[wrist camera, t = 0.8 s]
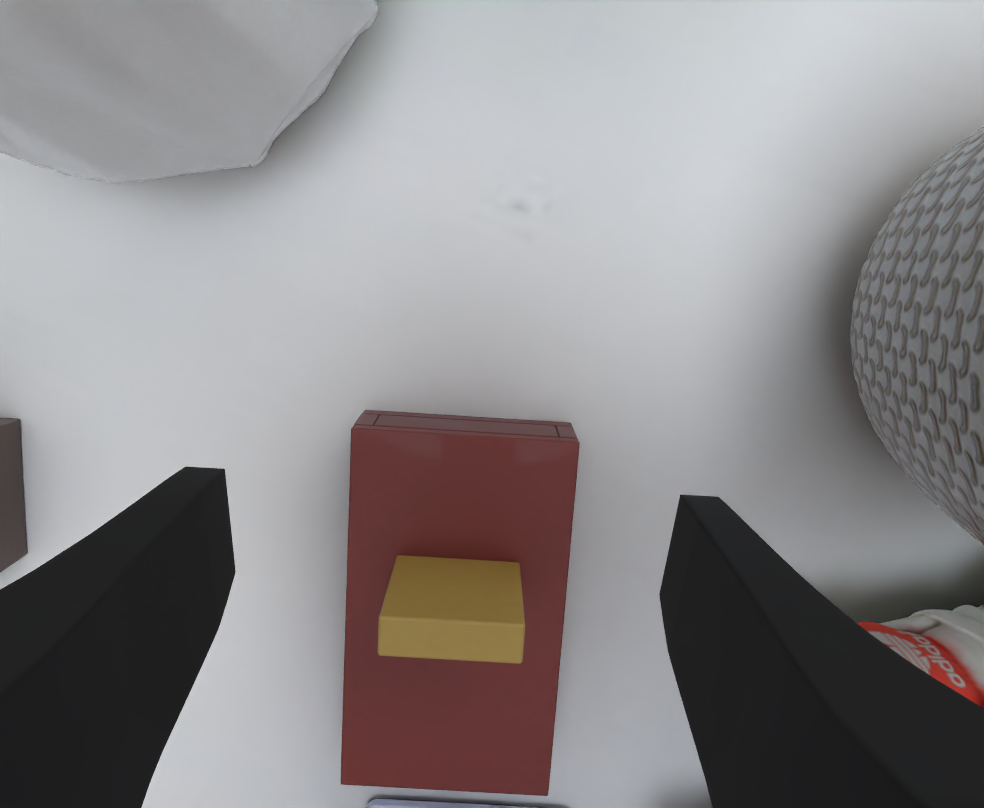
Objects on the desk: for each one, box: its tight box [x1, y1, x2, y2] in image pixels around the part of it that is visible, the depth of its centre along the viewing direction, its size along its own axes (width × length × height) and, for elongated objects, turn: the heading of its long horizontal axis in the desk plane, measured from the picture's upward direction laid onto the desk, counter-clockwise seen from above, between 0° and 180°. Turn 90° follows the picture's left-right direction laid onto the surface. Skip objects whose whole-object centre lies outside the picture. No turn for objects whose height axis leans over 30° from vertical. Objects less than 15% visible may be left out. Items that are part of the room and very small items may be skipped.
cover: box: [341, 425, 579, 796], centre depth 25 cm, size 13×7×5 cm, turn 176°
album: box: [354, 410, 577, 439], centre depth 28 cm, size 12×7×2 cm, turn 176°
